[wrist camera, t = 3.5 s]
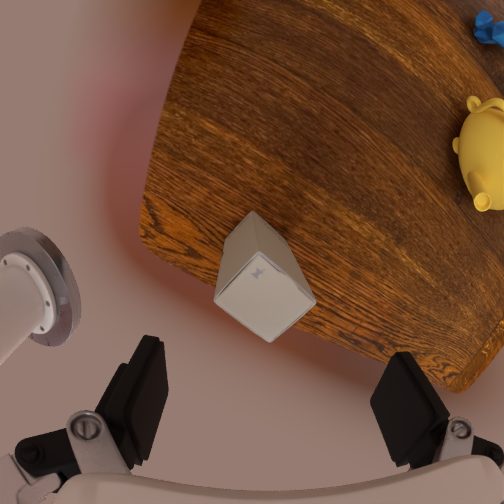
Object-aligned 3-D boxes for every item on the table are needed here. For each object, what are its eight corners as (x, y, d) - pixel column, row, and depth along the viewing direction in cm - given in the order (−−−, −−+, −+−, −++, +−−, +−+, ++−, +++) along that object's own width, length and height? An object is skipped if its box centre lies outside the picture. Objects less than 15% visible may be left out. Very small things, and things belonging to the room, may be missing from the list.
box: (223, 239, 28) (205, 299, 16) (253, 208, 27) (256, 246, 15) (261, 272, 30) (269, 347, 17) (290, 242, 29) (320, 303, 16)
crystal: (479, 2, 12) (522, 5, 8) (453, 19, 20) (496, 16, 15) (508, 53, 14) (546, 49, 10) (476, 62, 22) (516, 55, 17)
